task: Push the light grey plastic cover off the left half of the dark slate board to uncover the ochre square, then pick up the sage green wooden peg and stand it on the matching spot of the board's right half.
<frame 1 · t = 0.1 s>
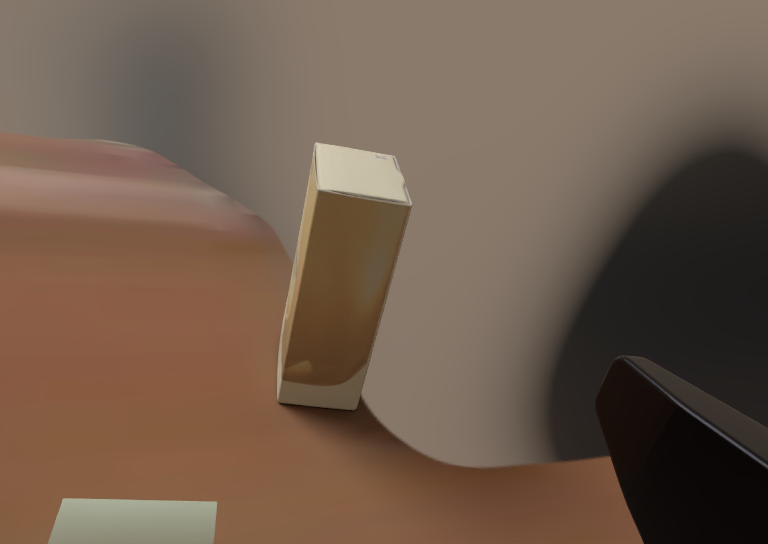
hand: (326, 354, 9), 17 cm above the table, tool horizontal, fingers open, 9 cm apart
skincare box: (315, 375, 35), on the table
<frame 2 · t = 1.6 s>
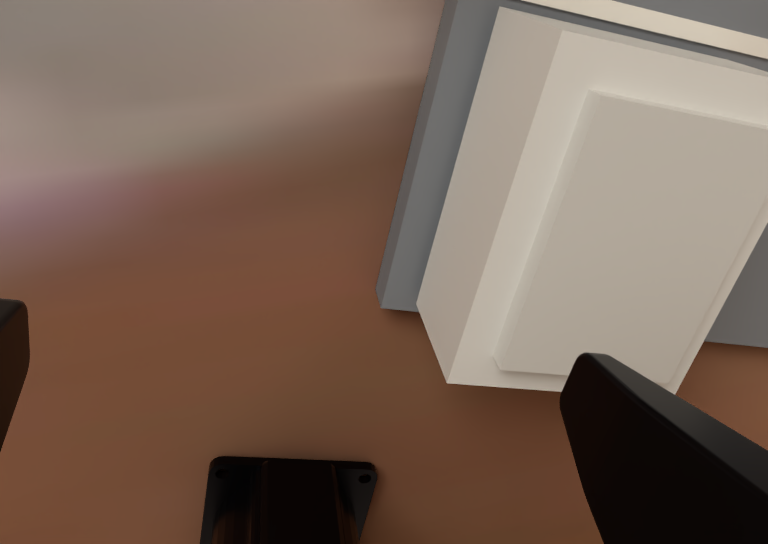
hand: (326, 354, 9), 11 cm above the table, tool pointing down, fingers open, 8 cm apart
layout board: (716, 36, 19), on the table
cover: (596, 220, 17), point 4 cm above the table, slide at 0.0 cm
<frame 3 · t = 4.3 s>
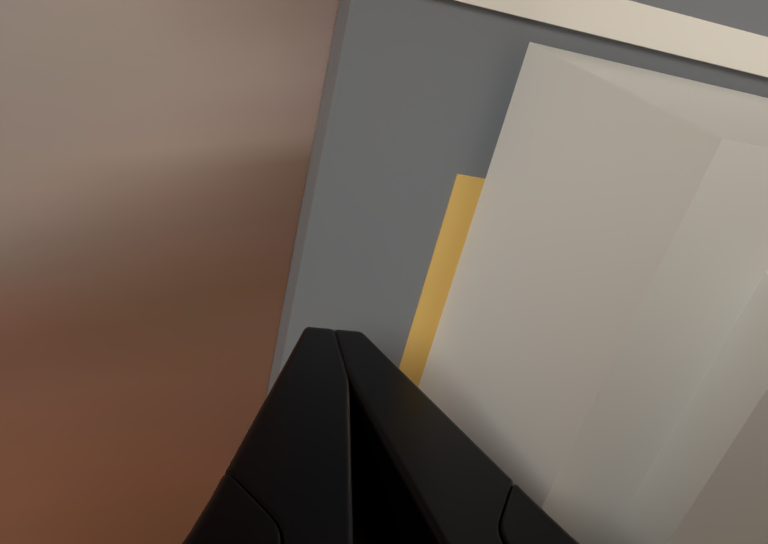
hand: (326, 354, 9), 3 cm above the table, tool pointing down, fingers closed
cover: (703, 446, 9), point 4 cm above the table, slide at 1.3 cm, touching gripper
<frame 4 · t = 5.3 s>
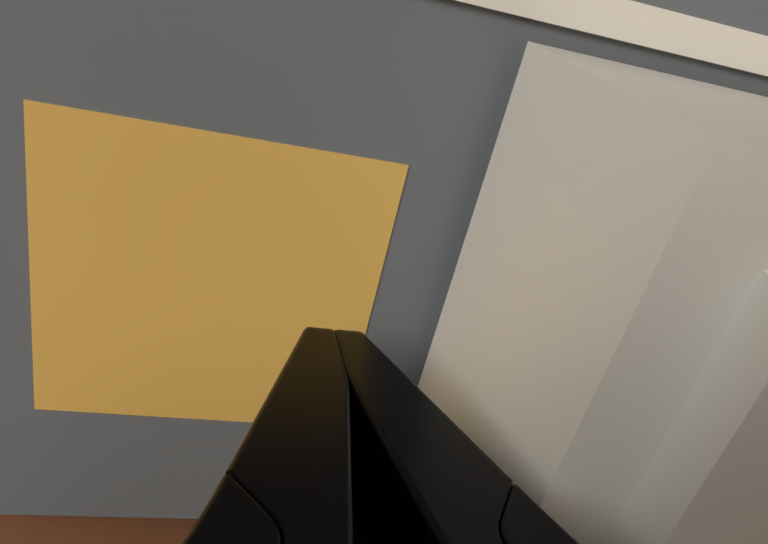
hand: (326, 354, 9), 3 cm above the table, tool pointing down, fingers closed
cover: (703, 444, 9), point 4 cm above the table, slide at 7.0 cm, touching gripper
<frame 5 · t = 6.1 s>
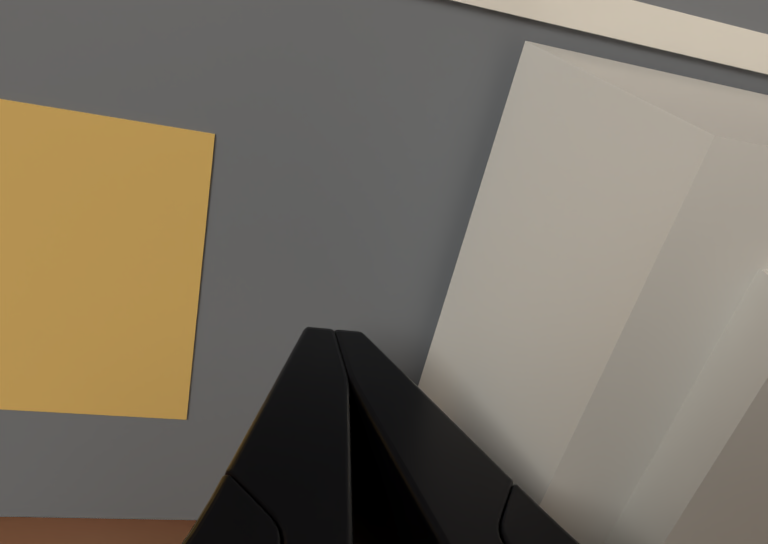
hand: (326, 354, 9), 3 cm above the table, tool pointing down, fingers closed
cover: (703, 443, 9), point 4 cm above the table, slide at 9.7 cm, touching gripper
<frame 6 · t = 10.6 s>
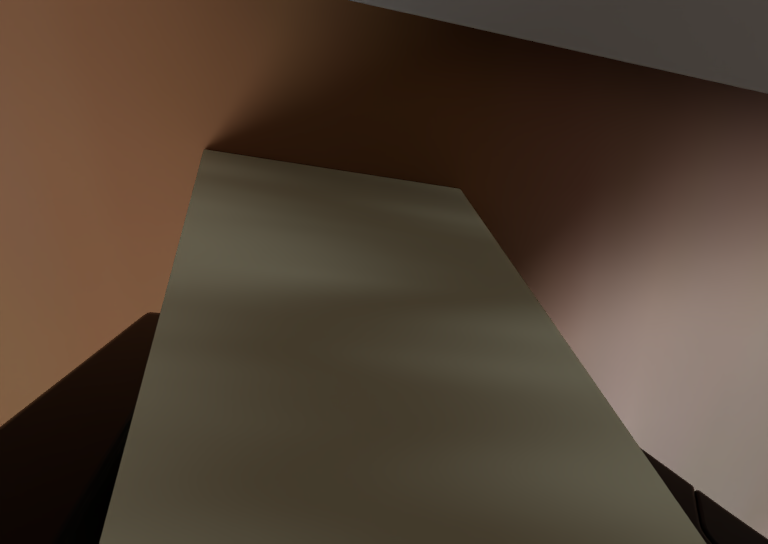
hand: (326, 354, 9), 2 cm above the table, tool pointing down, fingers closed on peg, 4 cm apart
peg: (316, 281, 11), on the table, touching gripper
when the fingers open (4 cm above the table, at t = 16.6 s): peg drops 1 cm, resting on layout board.
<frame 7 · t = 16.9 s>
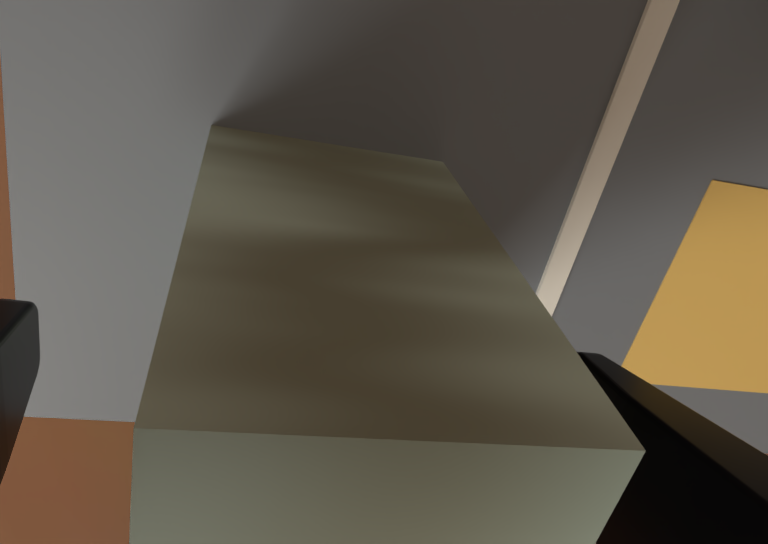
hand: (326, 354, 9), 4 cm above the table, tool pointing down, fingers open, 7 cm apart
peg: (313, 247, 12), point 1 cm above the table, touching layout board
layout board: (600, 64, 12), on the table
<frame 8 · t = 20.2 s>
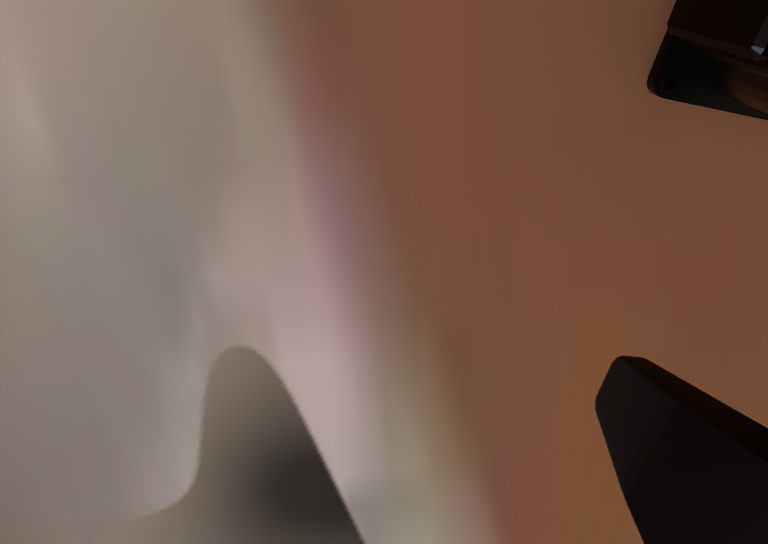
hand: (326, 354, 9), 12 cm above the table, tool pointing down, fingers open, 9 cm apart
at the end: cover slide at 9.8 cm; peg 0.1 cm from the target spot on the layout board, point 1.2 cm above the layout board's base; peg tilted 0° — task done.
